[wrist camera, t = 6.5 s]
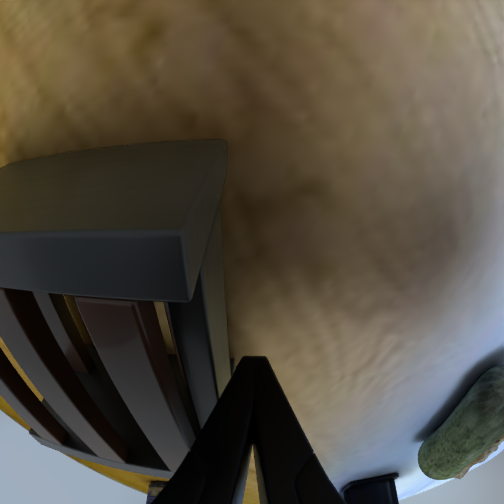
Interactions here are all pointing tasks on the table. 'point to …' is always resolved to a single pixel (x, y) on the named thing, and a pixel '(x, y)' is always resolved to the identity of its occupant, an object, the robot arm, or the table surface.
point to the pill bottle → (154, 490)
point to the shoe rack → (115, 299)
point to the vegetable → (466, 428)
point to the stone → (480, 457)
